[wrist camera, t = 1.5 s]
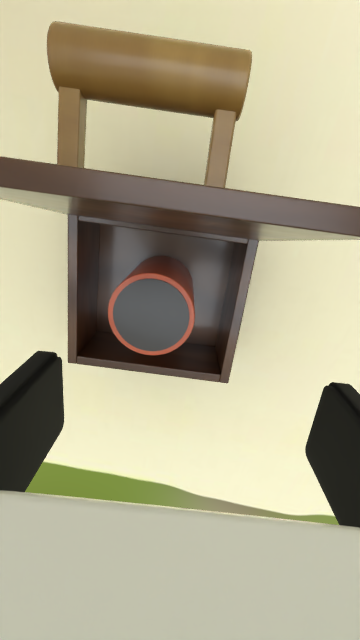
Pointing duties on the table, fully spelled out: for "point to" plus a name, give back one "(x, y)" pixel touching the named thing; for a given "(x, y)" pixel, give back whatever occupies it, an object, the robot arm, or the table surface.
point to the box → (121, 259)
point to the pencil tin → (153, 307)
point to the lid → (167, 95)
